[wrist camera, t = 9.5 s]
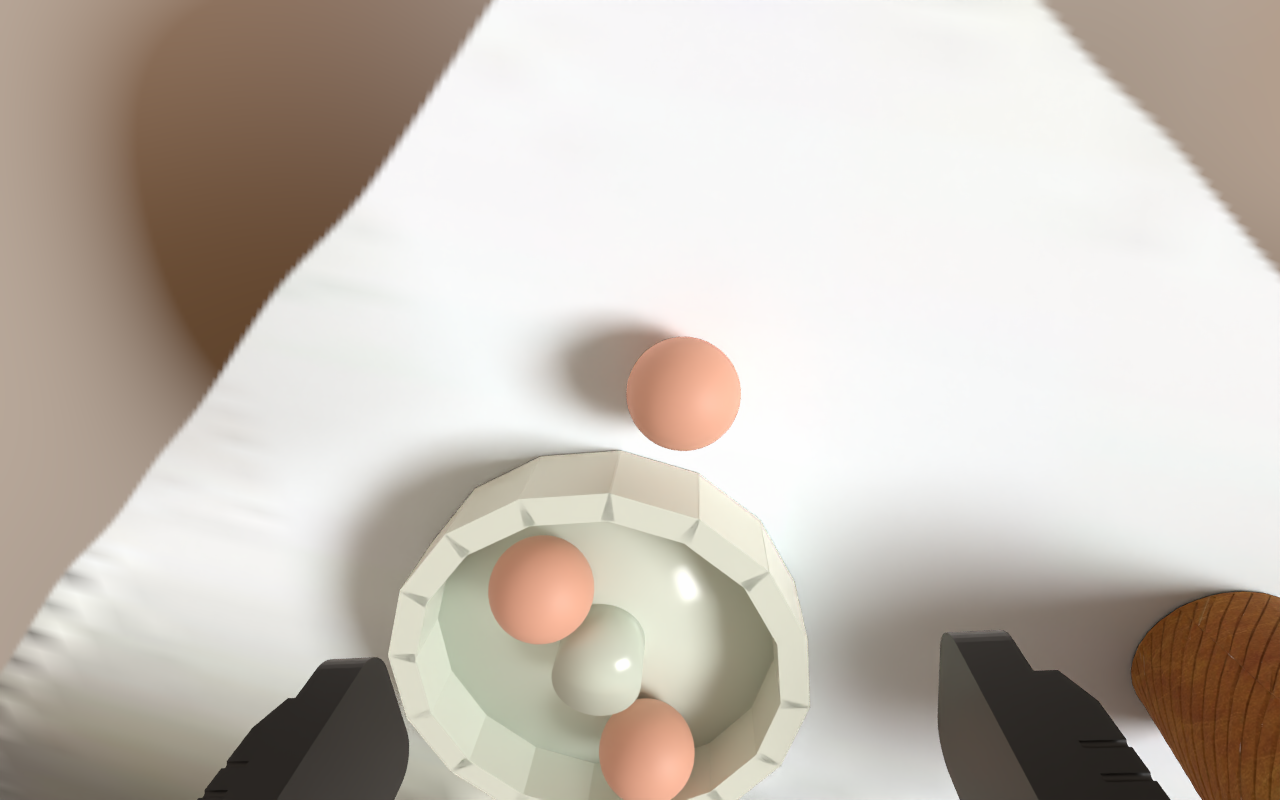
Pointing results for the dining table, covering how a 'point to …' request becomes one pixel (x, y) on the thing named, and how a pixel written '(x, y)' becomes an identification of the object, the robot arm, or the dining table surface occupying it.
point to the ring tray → (605, 632)
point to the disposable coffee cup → (1217, 692)
